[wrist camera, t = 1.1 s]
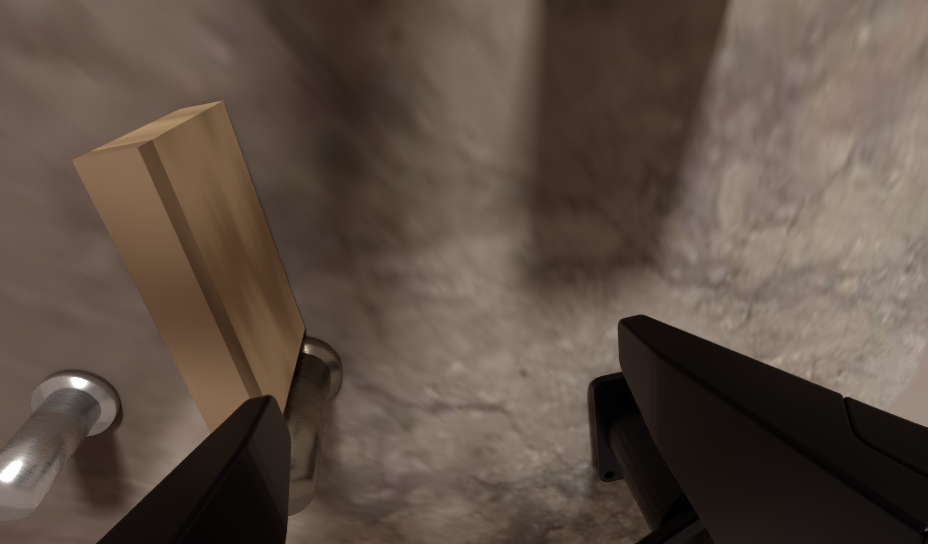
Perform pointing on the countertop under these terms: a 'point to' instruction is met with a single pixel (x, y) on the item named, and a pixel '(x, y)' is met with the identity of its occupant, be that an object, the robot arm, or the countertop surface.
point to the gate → (200, 255)
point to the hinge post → (309, 415)
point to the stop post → (52, 437)
